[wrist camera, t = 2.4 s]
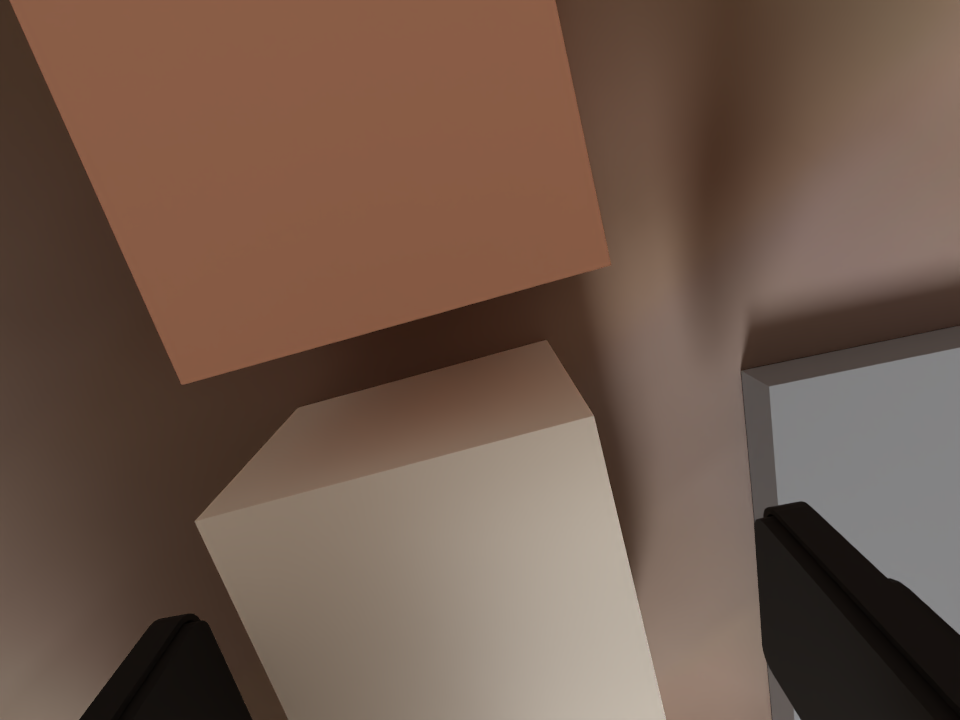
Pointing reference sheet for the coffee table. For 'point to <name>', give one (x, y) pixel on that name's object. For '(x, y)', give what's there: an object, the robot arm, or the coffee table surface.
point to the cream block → (438, 553)
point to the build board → (868, 457)
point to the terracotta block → (321, 160)
